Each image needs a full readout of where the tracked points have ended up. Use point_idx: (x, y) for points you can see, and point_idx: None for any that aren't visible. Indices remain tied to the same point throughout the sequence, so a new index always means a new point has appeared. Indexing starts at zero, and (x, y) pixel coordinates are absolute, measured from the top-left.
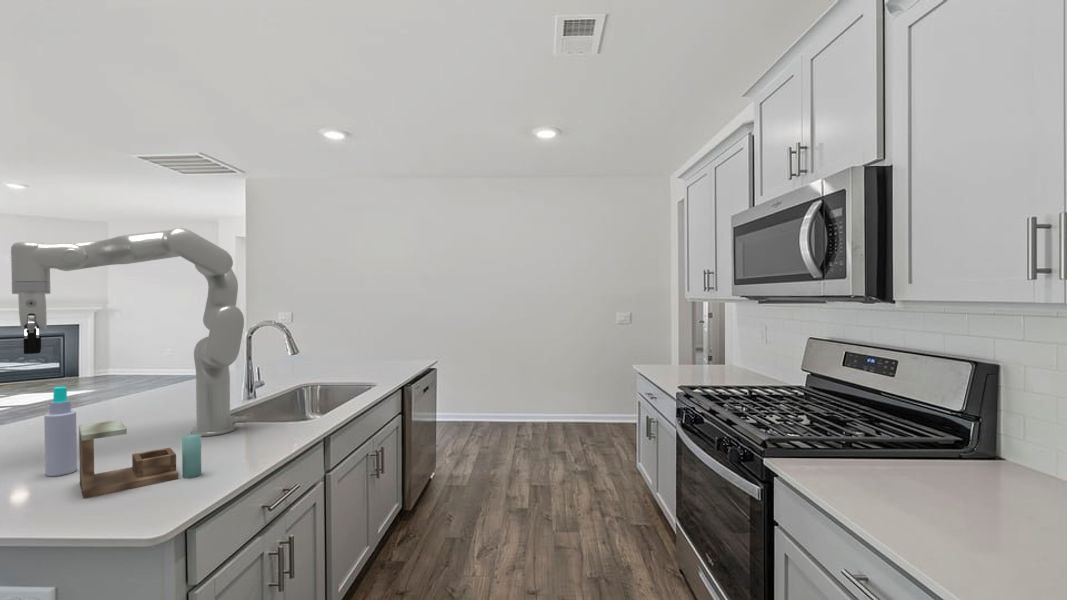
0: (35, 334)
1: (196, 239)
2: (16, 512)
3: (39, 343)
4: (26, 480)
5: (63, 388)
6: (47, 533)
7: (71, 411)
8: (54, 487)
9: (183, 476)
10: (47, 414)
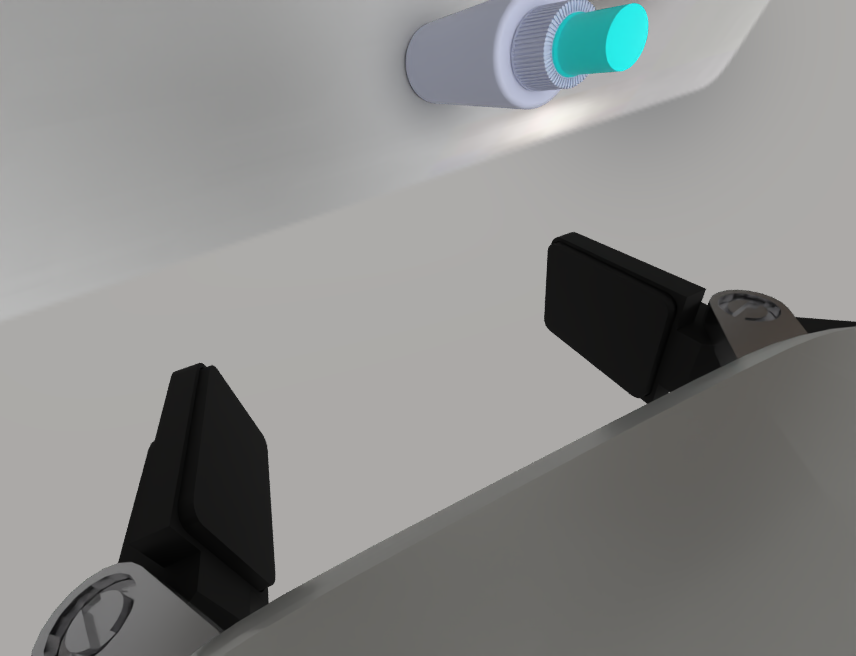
0: (811, 322)
1: None
2: (633, 100)
3: (642, 269)
4: (453, 138)
5: (645, 17)
6: (749, 26)
7: (541, 3)
8: None
9: None
10: (540, 97)
